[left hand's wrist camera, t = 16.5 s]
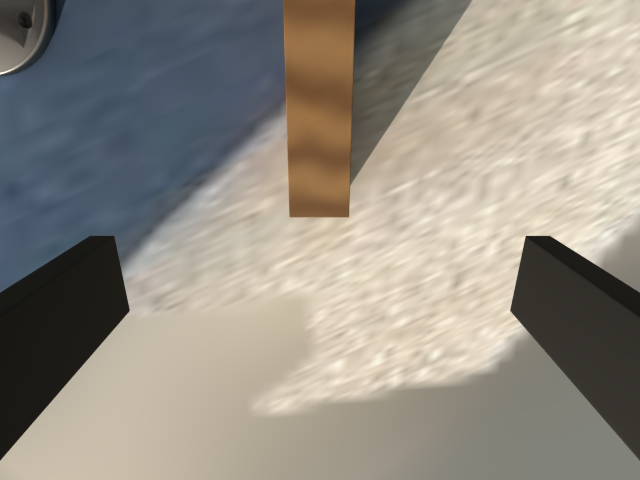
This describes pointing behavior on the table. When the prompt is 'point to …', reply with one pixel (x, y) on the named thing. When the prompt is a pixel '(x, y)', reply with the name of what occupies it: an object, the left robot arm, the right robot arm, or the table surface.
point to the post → (319, 105)
